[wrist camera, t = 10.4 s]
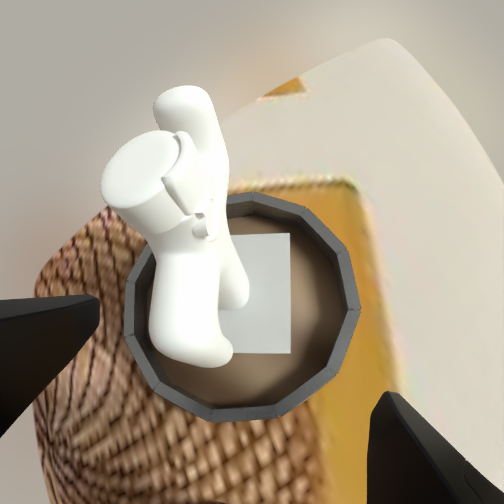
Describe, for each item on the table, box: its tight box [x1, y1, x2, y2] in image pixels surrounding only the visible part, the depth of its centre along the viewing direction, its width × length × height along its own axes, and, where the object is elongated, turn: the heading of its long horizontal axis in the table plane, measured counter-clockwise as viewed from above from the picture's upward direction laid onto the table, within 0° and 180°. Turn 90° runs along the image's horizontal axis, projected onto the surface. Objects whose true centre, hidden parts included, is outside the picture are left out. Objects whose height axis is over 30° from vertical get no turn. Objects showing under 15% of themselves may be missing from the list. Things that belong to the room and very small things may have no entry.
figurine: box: [100, 86, 291, 368], centre depth 14 cm, size 7×9×15 cm
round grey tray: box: [124, 192, 361, 422], centre depth 20 cm, size 16×16×2 cm
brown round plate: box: [147, 215, 344, 421], centre depth 22 cm, size 16×16×1 cm
